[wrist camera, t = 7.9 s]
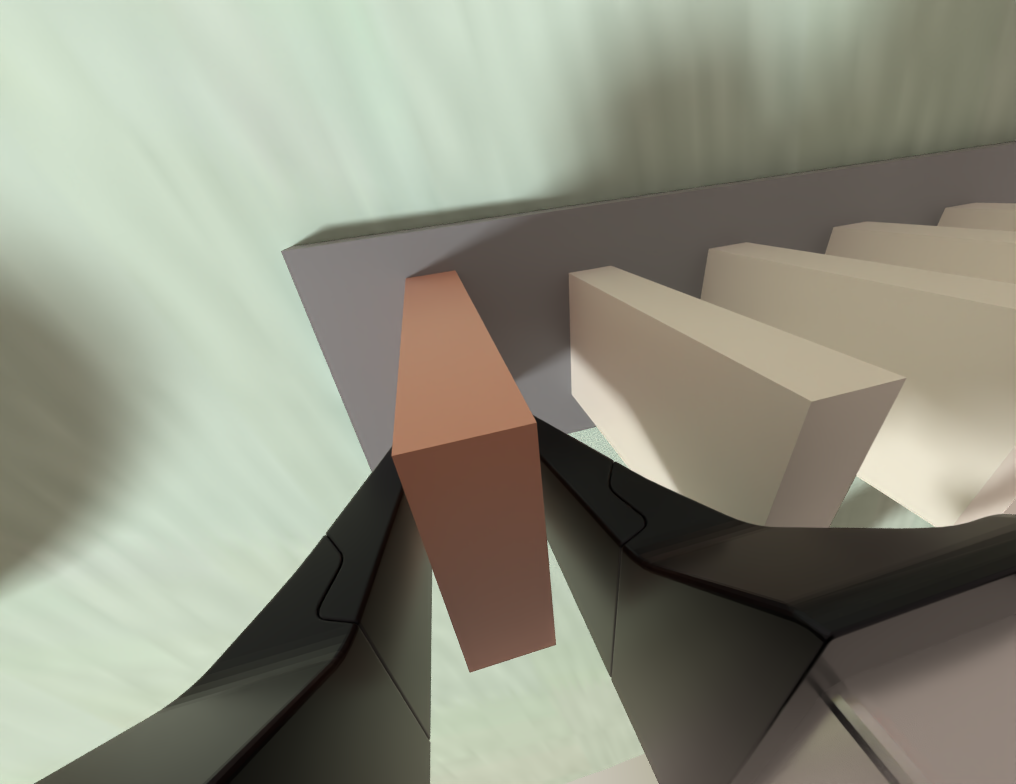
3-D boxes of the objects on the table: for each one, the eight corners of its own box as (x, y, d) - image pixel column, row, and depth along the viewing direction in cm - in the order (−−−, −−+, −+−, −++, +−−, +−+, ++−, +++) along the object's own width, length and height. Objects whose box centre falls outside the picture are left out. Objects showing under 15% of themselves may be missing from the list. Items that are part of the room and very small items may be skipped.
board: (927, 335, 20) (950, 342, 19) (377, 464, 16) (374, 479, 15) (1029, 139, 15) (1065, 136, 15) (291, 246, 11) (281, 251, 10)
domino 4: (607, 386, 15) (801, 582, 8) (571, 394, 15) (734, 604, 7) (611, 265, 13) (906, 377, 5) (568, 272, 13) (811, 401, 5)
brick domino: (478, 400, 14) (556, 644, 7) (438, 408, 14) (469, 672, 6) (455, 270, 12) (536, 422, 4) (405, 278, 11) (391, 456, 4)
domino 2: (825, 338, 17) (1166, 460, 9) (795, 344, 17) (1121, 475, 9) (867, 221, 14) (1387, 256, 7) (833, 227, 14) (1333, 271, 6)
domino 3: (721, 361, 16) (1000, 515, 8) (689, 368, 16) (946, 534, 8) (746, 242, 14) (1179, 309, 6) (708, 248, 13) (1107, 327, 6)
